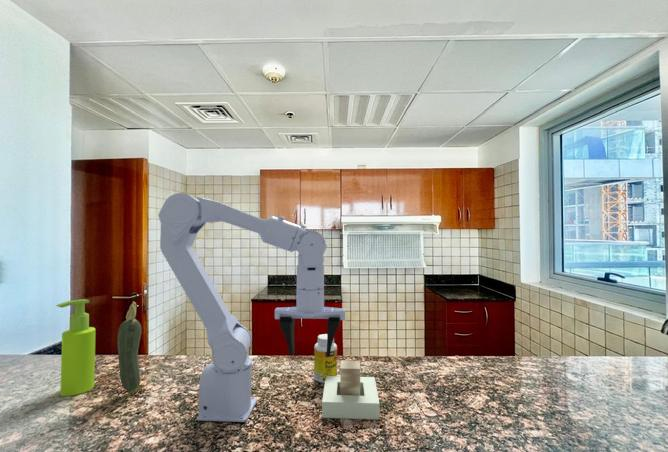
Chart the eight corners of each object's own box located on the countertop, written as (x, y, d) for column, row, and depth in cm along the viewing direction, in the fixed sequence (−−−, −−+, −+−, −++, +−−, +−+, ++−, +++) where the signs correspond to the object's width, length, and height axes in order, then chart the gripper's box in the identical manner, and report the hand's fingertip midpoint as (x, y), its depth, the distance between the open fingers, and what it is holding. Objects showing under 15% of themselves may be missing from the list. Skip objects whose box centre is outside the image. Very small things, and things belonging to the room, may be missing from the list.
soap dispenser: (49, 394, 68) (51, 301, 69) (86, 381, 74) (88, 296, 75) (62, 400, 66) (64, 304, 66) (99, 386, 72) (101, 298, 72)
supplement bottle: (324, 386, 72) (324, 341, 73) (309, 378, 76) (309, 336, 77) (341, 378, 76) (341, 336, 77) (326, 371, 80) (326, 331, 81)
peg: (340, 408, 63) (340, 368, 64) (340, 397, 67) (340, 360, 68) (360, 408, 63) (360, 368, 63) (359, 398, 67) (359, 360, 67)
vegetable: (128, 400, 66) (130, 305, 66) (110, 398, 67) (113, 303, 67) (144, 390, 70) (146, 300, 71) (128, 388, 71) (130, 299, 72)
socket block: (321, 417, 60) (322, 401, 60) (325, 389, 71) (325, 375, 71) (379, 419, 60) (379, 403, 60) (374, 390, 71) (374, 377, 71)
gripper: (271, 291, 62) (270, 360, 61) (344, 291, 61) (344, 362, 61) (279, 285, 69) (278, 347, 68) (345, 285, 68) (345, 348, 68)
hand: (310, 353), depth 65 cm, fingers open, 7 cm apart
